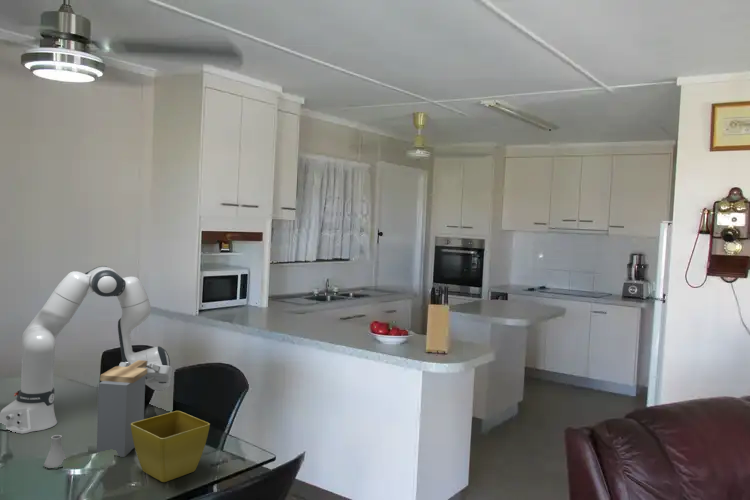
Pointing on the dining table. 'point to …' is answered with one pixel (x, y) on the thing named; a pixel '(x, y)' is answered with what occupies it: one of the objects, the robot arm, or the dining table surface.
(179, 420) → the flower pot
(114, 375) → the oak paddle board
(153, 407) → the dining table surface
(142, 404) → the grey post
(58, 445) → the flask
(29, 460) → the dining table surface
